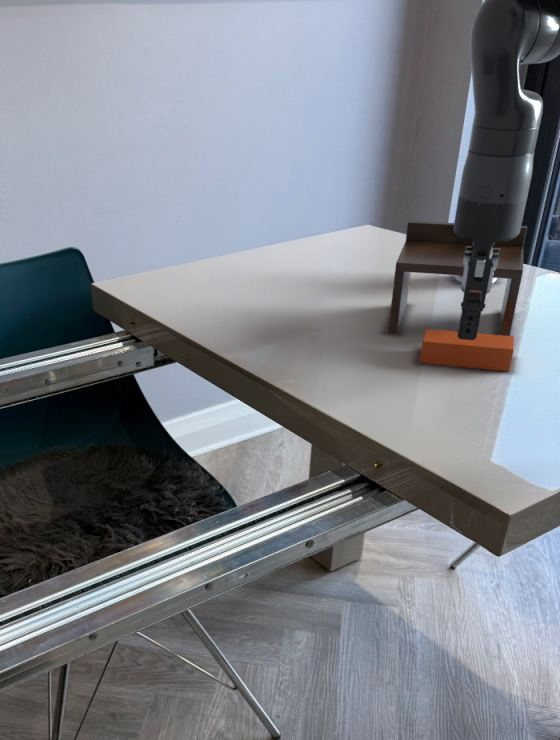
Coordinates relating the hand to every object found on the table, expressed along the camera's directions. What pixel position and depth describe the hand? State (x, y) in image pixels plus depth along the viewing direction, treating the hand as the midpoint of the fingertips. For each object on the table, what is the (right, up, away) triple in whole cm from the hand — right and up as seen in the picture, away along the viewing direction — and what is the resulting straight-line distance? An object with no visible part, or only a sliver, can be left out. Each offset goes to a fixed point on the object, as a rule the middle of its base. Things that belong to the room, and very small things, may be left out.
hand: (468, 326), depth 100 cm
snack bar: (0, -4, +3) cm, 5 cm away
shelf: (+2, +4, +13) cm, 14 cm away
